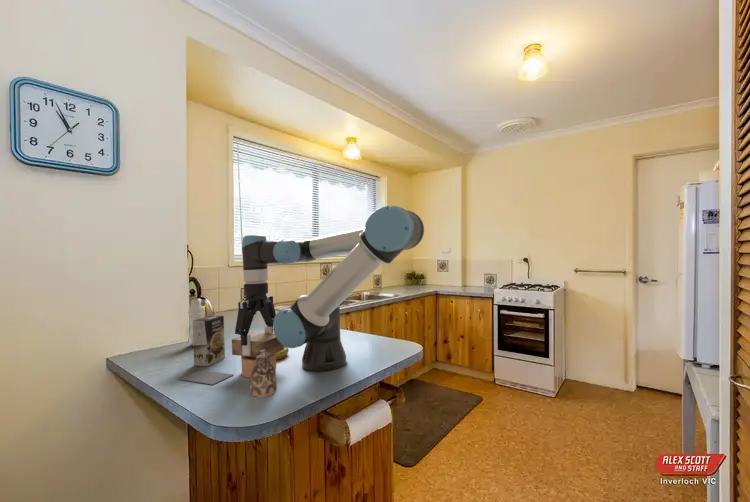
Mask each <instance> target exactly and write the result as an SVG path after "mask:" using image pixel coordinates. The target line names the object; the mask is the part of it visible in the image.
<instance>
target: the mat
mask: <svg viewBox="0 0 750 502" xmlns="http://www.w3.org/2000/svg"><path fill="white" fill-rule="evenodd" d="M233 376H234V373H233V374H232V373H224V372H217V371H211V370H204V369H201V370H198V371H195V372H193V373H191V374H189V375H186V376H184V377H180V378H179V380H180V381H183V382H190V383H198V384H202V385H208V386H209V385H210V386H215V385H217V384H219V383H220V382H223V381H224V380H227V379H229V378H231V377H233Z"/></svg>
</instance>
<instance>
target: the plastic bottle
mask: <svg viewBox="0 0 750 502" xmlns="http://www.w3.org/2000/svg"><path fill="white" fill-rule="evenodd" d="M190 304H191V306H190V307H189V309H188V312H187V313H188V319H189V337H188V342H189V345H190V346H192V347H193V346H194V345H193V320H197V319H200V318H204V317H205V315H206V314H205V312H206V309H205V308H204V306H203V305H202V299H201V297H200V298H192V299H191V302H190Z"/></svg>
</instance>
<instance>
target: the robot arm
mask: <svg viewBox="0 0 750 502" xmlns="http://www.w3.org/2000/svg"><path fill="white" fill-rule="evenodd" d="M364 226H365V227H361V228H360V227H359V228H356V229H351V230H347V231H342V232H341V231H340V232H337V233H336V232H335V233H331V234H326V235H321V236H317V237H312V238H308V239H303V240H302V239H301V240H294V239H284V238H283V239H277V240H267V236H266V235H263V234H254V235H253V234H252V235H251V234H248V235H244V236H243V237H242V239H241V240H242V243H241V251H242V253H241V254H242V266H243V267H242V272H243V282H244V283H243V294H244V295H245V297H246V298H245V300H244V301H238V303H237V304H238V305H237V306H238V311H237V317H236V323H235V329H234V335H239V337H240V336H241V345H242V354H243V355H246V356H250V355H251V341H250V334H249V333H250V329H251V326H252V323H253V319H254V316H255V315H256V314H257V312H258V311H259V312H260V316H261V317H262V319H263V322H264V323H265V326H264V333H270V334H275V336H276V338H277V340H278V341H279V342H280V343H281V344H282V345H283V346H285V347H288V349H295V348H299V347H302V346H303V345H305V348H304V351H303V354H302V358H301V366H302V368H303V369H305V370H306V371H311V372H325V371H326V372H327V371H332V370H337V369H340V368H342V367H343V366H345V365H346V364H347V355H346V352H345V349H344V346H343V343H342V339H341V313H340V311H341V307H340V305H341V304H342V303H343V302H344V301H345V300H346V299H347V298H348V297H349V296H350V295H351V294H352V293H354V291H356V289H357V288H359V286H360V285H362V283H363V282H364V281H365V280H366V279H367V278H368V277H370V276H371V275H372V273H374V271H376V270H377V269H378V268H380V266H381V265H390V263H392V262H393V261H394V260H395V259H396V258H397V257H398V256H399V255H400V254H401V253H402V252H403V251H406V250H407V251H409V250H410V249H413V248H416V246H417V245H419V244H420V243H421V241H422V240H423V238H424V235H425V225H424V222H423V220H422V218H421V217H420V216H419V215H418V214H417V213H416V212H413V211H411V210H407V209H405V208H402V207H400V206H397V205H386V206H381V207H379V208H377V209H375V210H374V211H372V212H371V214H370V215H369V216H368V217H367V219H366V222H365V225H364ZM344 255H346V256H345V257H343V259H342V260H341V261H340V262H338V264H337V265H336V266H335V267H334V268H333V269H332V270H331V271H330V272H329V273H328V274H327V275H326V277H324V279H322V281H320V283H319V284H317V286H316V287H315V288H314V289H313V290H312V291H311V292H310V293H309V294H302V295H300V296H299V297H298V298H297V299H296V300H295V301H294V303H292V304H291V305H290V307H287V308H283V309H282V310H280V311H278V312H277V313H276V310H275V309H276V308H275V304H274V296H272V295H267V294H268V293H269V282H267V281H268V280H269V275H268V274H269V273H268V265H288V264H294V263H295V264H296V263H308V262H313V261H315V260H322V259H326V258H333V257H339V256H344Z"/></svg>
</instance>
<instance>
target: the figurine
mask: <svg viewBox="0 0 750 502" xmlns="http://www.w3.org/2000/svg"><path fill="white" fill-rule="evenodd" d="M256 362H257V365H255V366H254V368H253V369H252V372H251V378H250V384H249V394H250V396H251V395H252V397H254V396H257V397H256V398H265V397H269V396H271V395H273V394H275V393H277V389H278V387H277V386H278V385H277V384H278V383H277V378H276V377H277V376H276V371H275V369H274V367H273V365H272V364H270V353H269V352H268V351H267V350H265V349H262V347H260V348H259V349H258V352H257V354H256ZM268 395H269V396H268ZM264 396H265V397H264Z"/></svg>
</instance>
